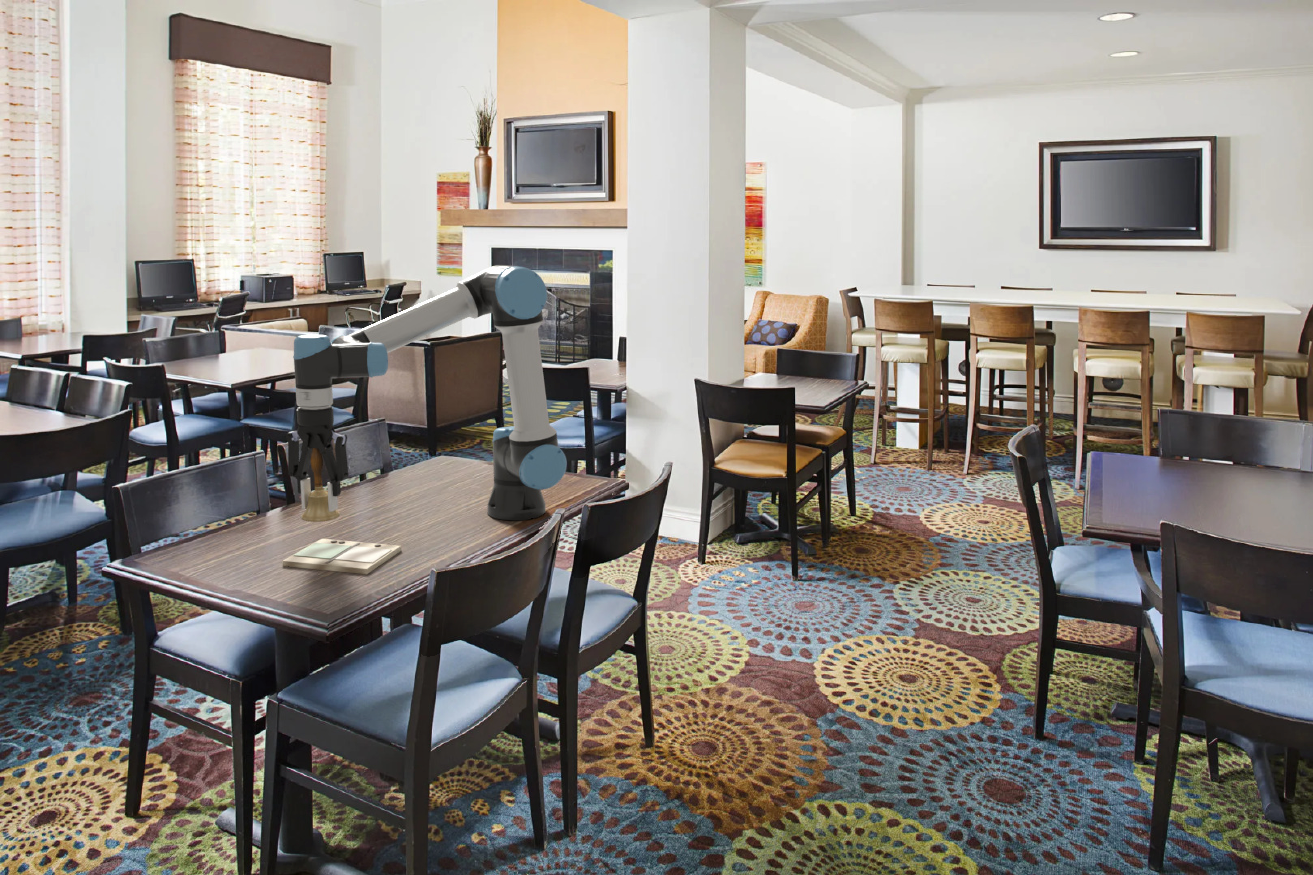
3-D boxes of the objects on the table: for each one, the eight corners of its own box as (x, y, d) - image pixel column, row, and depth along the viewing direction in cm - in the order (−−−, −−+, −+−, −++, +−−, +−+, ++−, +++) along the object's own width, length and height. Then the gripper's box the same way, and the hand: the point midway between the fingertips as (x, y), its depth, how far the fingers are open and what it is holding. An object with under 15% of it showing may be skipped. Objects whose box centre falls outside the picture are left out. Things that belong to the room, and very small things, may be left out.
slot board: (401, 550, 221) (400, 544, 221) (367, 574, 206) (366, 567, 205) (322, 543, 225) (321, 537, 225) (282, 565, 210) (282, 559, 209)
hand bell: (302, 523, 209) (298, 452, 206) (299, 513, 216) (295, 444, 213) (342, 519, 212) (338, 449, 209) (338, 510, 220) (334, 441, 216)
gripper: (265, 406, 207) (272, 509, 212) (345, 411, 204) (350, 516, 208) (285, 401, 215) (291, 501, 219) (363, 406, 211) (367, 507, 216)
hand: (320, 508), depth 214 cm, fingers closed on hand bell, 6 cm apart
